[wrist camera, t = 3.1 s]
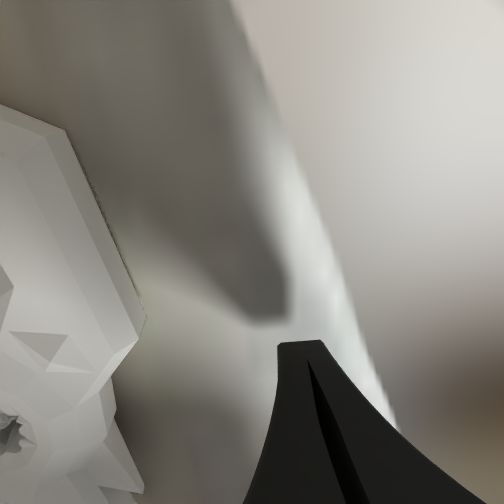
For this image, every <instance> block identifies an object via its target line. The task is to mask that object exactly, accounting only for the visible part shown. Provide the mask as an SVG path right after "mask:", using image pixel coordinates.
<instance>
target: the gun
mask: <svg viewBox="0 0 504 504" xmlns="http://www.w3.org/2000/svg"><path fill="white" fill-rule="evenodd" d="M0 266H1V267H0V504H137V502H136V500H135V499H134V497H133V495H132V494H131V492H134V493H140V494H143V492H144V487H145V485H144V483H143V481H142V479H141V476H140V474H139V472H138V470H137V468H136V465H135V463H134V461H133V459H132V457H131V455H130V452H129V450H128V448H127V446H126V444H125V442H124V439H123V437H122V435H121V433H120V431H119V429H118V426H117V424H116V422H115V420H114V415H115V412H116V409H117V408H116V402H115V396H114V391H113V385H112V379H111V375H112V374H113V372H114V371H115V370H116V368H117V367H118V366H119V364H120V363H121V362H122V360H123V359H124V358H125V356H126V355H127V354H128V353H129V351H130V350H131V349H132V347H133V346H134V345H135V343H136V342H137V341H138V339H139V337H140V334H141V331H142V329H143V326H144V323H145V320H146V318H147V316H146V314H145V312H144V309H143V307H142V305H141V302H140V300H139V298H138V296H137V293H136V291H135V289H134V287H133V284H132V282H131V280H130V277H129V275H128V273H127V271H126V268H125V266H124V264H123V262H122V259H121V257H120V255H119V252H118V250H117V248H116V246H115V243H114V241H113V239H112V237H111V234H110V232H109V230H108V228H107V225H106V223H105V221H104V218H103V216H102V214H101V212H100V209H99V207H98V205H97V203H96V200H95V198H94V196H93V193H92V191H91V189H90V187H89V184H88V182H87V180H86V178H85V175H84V173H83V171H82V168H81V166H80V164H79V162H78V159H77V157H76V155H75V153H74V150H73V148H72V146H71V143H70V141H69V139H68V137H67V134H66V132H65V130H63V129H61V128H58V127H56V126H53V125H51V124H48V123H46V122H43V121H41V120H38V119H36V118H33V117H31V116H28V115H26V114H24V113H21V112H19V111H16V110H14V109H11V108H9V107H6V106H4V105H1V104H0Z"/></svg>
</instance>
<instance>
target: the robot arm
mask: <svg viewBox="0 0 504 504" xmlns="http://www.w3.org/2000/svg"><path fill="white" fill-rule="evenodd" d="M277 357H278V383H277V390H276V397H275V402H274V407H273V412H272V416H271V421H270V425H269V429H268V433H267V436H266V440H265V443H264V447H263V450H262V453H261V456H260V459H259V462H258V465H257V468H256V471H255V474H254V477H253V480H252V482H251V485H250V488H249V490H248V493H247V495H246V497H245V500H244V502H243V504H486V503H485V502H483V501H482V500H481V499H479V498H478V497H476V496H475V495H474V494H472V493H471V492H469V491H468V490H467V489H465V488H464V487H463V486H461V485H460V484H459V483H457V482H456V481H455V480H454V479H453V478H451V477H450V476H449V475H448V474H446V473H445V472H444V471H443V470H441V469H440V468H439V467H437V466H436V465H435V464H434V463H432V462H431V461H430V460H429V459H428V458H427V457H425V456H424V455H423V454H422V453H421V452H420V451H419V450H417V449H416V448H415V447H414V446H413V445H412V444H411V443H409V442H408V441H407V440H406V439H405V438H404V437H403V436H402V435H401V434H400V433H399V432H398V431H397V430H396V429H395V428H394V427H393V426H392V425H391V424H390V423H389V422H388V421H387V420H386V419H385V418H384V417H383V416H382V415H381V414H380V413H379V412H378V411H377V410H376V409H375V408H374V407H373V405H372V404H371V403H370V402H369V401H368V400H367V399H366V398H365V397H364V395H363V394H362V393H361V392H360V391H359V389H358V388H357V387H356V386H355V385H354V383H353V382H352V381H351V380H350V379H349V377H348V376H347V375H346V374H345V372H344V371H343V370H342V368H341V367H340V366H339V365H338V363H337V362H336V360H335V359H334V358H333V356H332V355H331V354H330V352H329V351H328V349H327V348H326V346H325V345H324V343H323V342H322V341H321V340H309V341H297V342H284V343H280V344H279V345H278V346H277Z"/></svg>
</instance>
